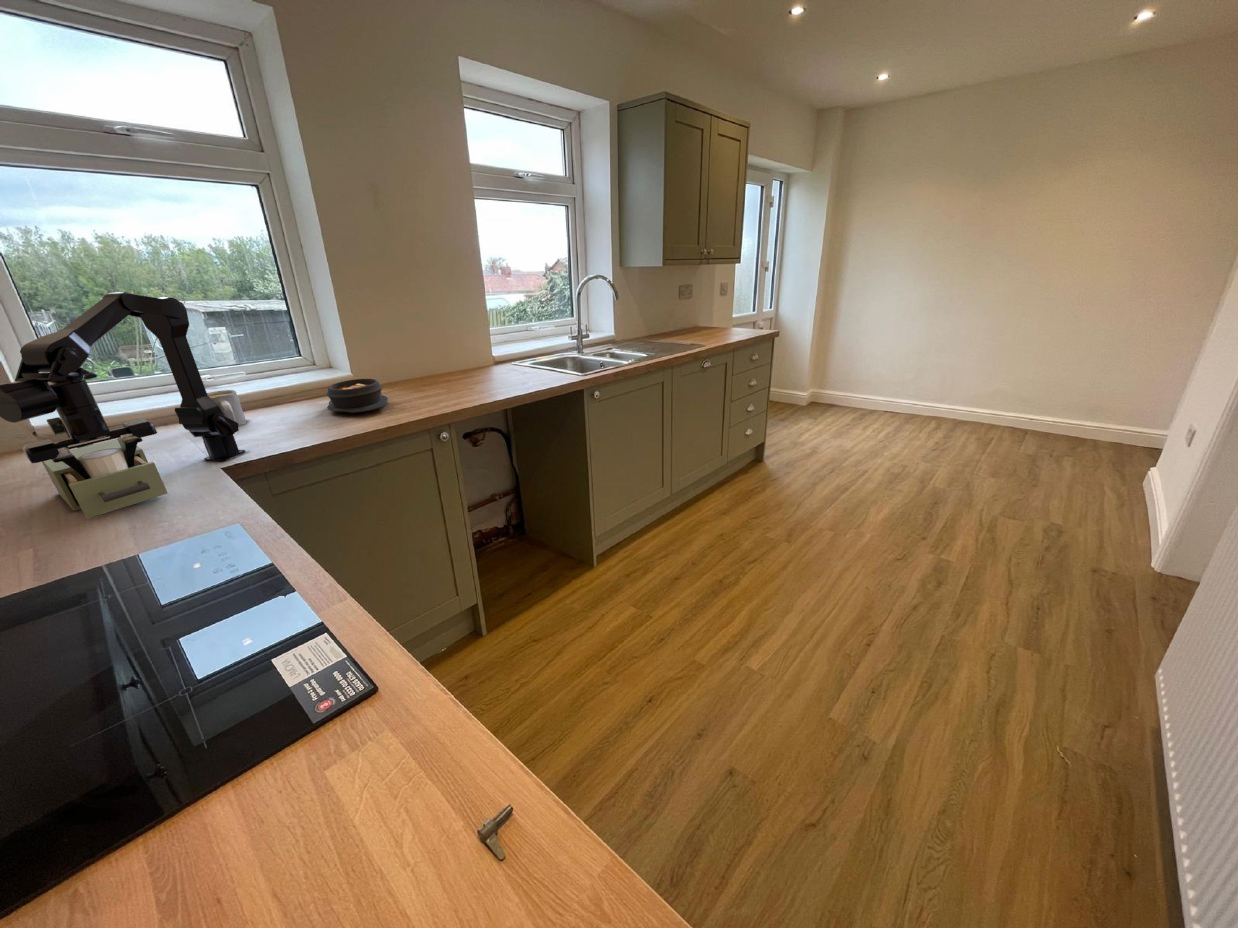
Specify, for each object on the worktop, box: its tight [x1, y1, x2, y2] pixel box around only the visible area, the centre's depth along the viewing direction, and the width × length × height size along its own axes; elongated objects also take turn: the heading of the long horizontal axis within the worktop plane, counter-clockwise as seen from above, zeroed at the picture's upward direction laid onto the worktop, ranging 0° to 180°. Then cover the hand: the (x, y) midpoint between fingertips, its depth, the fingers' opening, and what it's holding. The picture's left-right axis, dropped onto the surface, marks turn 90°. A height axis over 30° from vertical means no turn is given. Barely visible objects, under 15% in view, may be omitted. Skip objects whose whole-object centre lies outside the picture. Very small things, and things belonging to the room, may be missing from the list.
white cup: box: [77, 448, 129, 478], centre depth 104 cm, size 7×7×7 cm
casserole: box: [325, 378, 389, 414], centre depth 166 cm, size 25×19×8 cm
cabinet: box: [41, 438, 149, 512], centre depth 112 cm, size 16×14×9 cm
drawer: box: [62, 455, 169, 519], centre depth 105 cm, size 19×13×7 cm
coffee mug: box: [207, 389, 247, 427], centre depth 154 cm, size 13×10×10 cm
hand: (112, 477), depth 105 cm, fingers closed on white cup, 6 cm apart
